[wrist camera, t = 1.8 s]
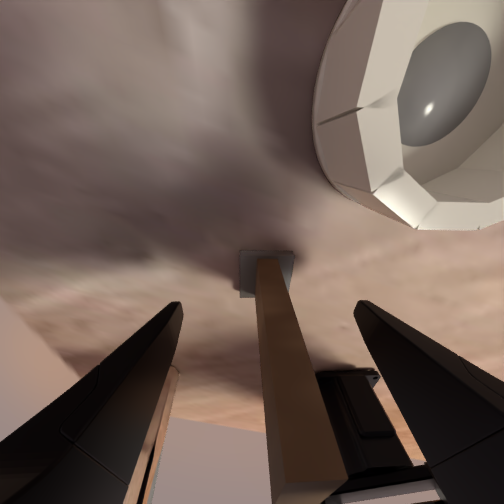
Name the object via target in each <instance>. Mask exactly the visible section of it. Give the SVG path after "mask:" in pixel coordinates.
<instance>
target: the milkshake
mask: <svg viewBox="0 0 504 504" xmlns="http://www.w3.org/2000/svg"><path fill="white" fill-rule="evenodd" d="M178 378H179V372H178V371H177V370H176V368H175V367H173V366H170V368H169V371H168V374H167V377H166V380H165V383H164V386H163V389H162V391H161V394H160V397H159V400H158V403H157V406H156V409H155V412H154V415H153V418H152V420H151V423H150V426H149V429H148V432H147V435H146V438H145V441H144V444H143V447H142V450H141V452H140V455H139V458H138V461H137V464H136V467H135V470H134V473H133V476H132V479H131V482H130V484H129V485H128V486H129V488H128V491H127V494H126V496H125V499H124V502H123V504H152V498H153V494H154V489H155V484H156V479H157V474H158V469H159V464H160V459H161V454H162V449H163V445H164V440H165V436H166V431H167V426H168V422H169V418H170V413H171V409H172V404H173V400H174V396H175V391H176V387H177V382H178Z"/></svg>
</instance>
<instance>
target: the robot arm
mask: <svg viewBox="0 0 504 504" xmlns="http://www.w3.org/2000/svg"><path fill="white" fill-rule="evenodd" d="M353 314H354V318H355V320H356V322H357V325H358V327H359V330H360V332H361V335H362V337H363V340H364V342H365V344H366V346H367V348H368V350H369V352H370V354H371V356H372V358H373V360H374V362H375V364H376V366H377V367H378V369H379V371H380V373H381V375H382V377H383V379H384V381H385V383H386V385H387V387H388V388H389V390H390V392H391V394H392V396H393V398H394V400H395V402H396V404H397V406H398V408H399V410H400V411H401V413H402V415H403V417H404V419H405V421H406V423H407V425H408V427H409V429H410V431H411V432H412V434H413V436H414V438H415V440H416V442H417V444H418V446H419V448H420V450H421V452H422V453H423V455H424V457H425V459H426V461H427V462H424V465H419V466H414V465H413V463H412V461H411V460H410V458H409V456H408V454H407V452H406V450H405V449H404V447H403V445H402V443H401V441H400V439H399V438H398V436H397V434H396V430H395V428H394V426H393V424H392V423H391V421H390V419H389V417H388V415H387V413H386V412H385V410H384V408H383V406H382V404H381V403H380V401H379V399H378V397H377V395H376V393H375V392H374V390H373V387H374V386H375V384H376V383H377V382H378V380H379V379H380V375H379V373H378V372H377V371H352V372H320V373H316V374H315V377H316V380H317V383H318V386H319V389H320V392H321V395H322V398H323V401H324V405H325V408H326V411H327V414H328V417H329V420H330V423H331V426H332V429H333V432H334V436H335V439H336V442H337V445H338V448H339V451H340V454H341V457H342V460H343V463H344V467H345V470H346V473H347V476H348V480H347V481H346V482H345V483H344V484H342V485H341V486H340V487H339V488H338V489H336V490H335V491H334V492H333V493H332V494H331V495H329V496H328V497H327V498H326V499H325V500H324V501H322V502H321V503H320V504H345V503H351V502H357V501H364V500H370V499H376V498H382V497H389V496H396V495H402V494H409V493H415V492H421V491H428V490H434V489H435V490H436V492H437V494H438V496H439V497H440V499H441V500H434V501H427V502H421V503H413V504H504V382H503V381H501V380H499V379H498V378H496V377H494V376H492V375H491V374H489V373H487V372H485V371H484V370H482V369H480V368H479V367H477V366H475V365H474V364H472V363H470V362H469V361H467V360H465V359H464V358H462V357H460V356H458V355H457V354H455V353H454V352H452V351H451V350H449V349H447V348H446V347H444V346H442V345H441V344H439V343H437V342H436V341H434V340H432V339H431V338H429V337H427V336H426V335H424V334H422V333H421V332H419V331H418V330H416V329H414V328H413V327H411V326H409V325H408V324H406V323H404V322H403V321H401V320H399V319H398V318H396V317H394V316H393V315H391V314H389V313H388V312H386V311H384V310H383V309H381V308H380V307H378V306H376V305H375V304H373V303H371V302H370V301H368V300H359V301H358V302H357V305H356V307H355V309H354V312H353ZM182 321H183V309H182V305H181V302H179V301H175V302H171V303H169V304H168V305H167V306H166V307H165V308H163V309H162V310H161V311H160V312H159V313H158V314H156V315H155V316H154V317H153V318H152V319H151V320H149V321H148V322H147V323H146V324H145V325H144V326H142V327H141V328H140V329H139V330H138V331H137V332H135V333H134V334H133V335H132V336H131V337H130V338H129V339H127V340H126V341H125V342H124V343H123V344H122V345H120V346H119V347H118V348H117V349H116V350H115V351H113V352H112V353H111V354H110V355H109V356H108V357H106V358H105V359H104V360H103V361H102V362H101V363H100V365H97V366H96V367H95V368H93V369H92V370H91V371H90V372H89V373H88V374H86V375H85V376H84V377H83V378H82V379H80V380H79V381H78V382H77V383H76V384H74V385H73V386H72V387H71V388H70V389H68V390H67V391H66V392H64V393H63V394H62V395H61V396H60V397H58V398H57V399H56V400H54V401H53V402H52V403H50V404H49V405H48V406H47V407H45V408H44V409H43V410H41V411H40V412H39V413H38V414H36V415H35V416H33V417H32V418H31V419H30V420H29V421H27V422H26V423H24V424H23V425H22V426H20V427H19V428H18V429H17V430H15V431H14V432H13V433H11V434H10V435H9V436H7V437H6V438H5V439H4V440H2V441H1V442H0V504H123V502H124V499H125V496H126V494H127V491H128V488H129V486H128V485H129V484H130V482H131V479H132V476H133V473H134V470H135V467H136V464H137V461H138V458H139V455H140V452H141V450H142V447H143V444H144V441H145V438H146V435H147V432H148V429H149V426H150V423H151V420H152V418H153V415H154V412H155V409H156V406H157V403H158V400H159V397H160V394H161V391H162V389H163V386H164V383H165V380H166V377H167V374H168V371H169V368H170V365H171V362H172V359H173V357H174V354H175V350H176V347H177V343H178V338H179V334H180V330H181V325H182ZM413 466H414V467H413Z"/></svg>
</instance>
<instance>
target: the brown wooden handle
mask: <svg viewBox="0 0 504 504" xmlns="http://www.w3.org/2000/svg"><path fill="white" fill-rule="evenodd" d="M294 258H295V255H294V253H293V251H240V298H255V302H256V314H257V326H258V338H259V351H260V363H261V375H262V388H263V400H264V412H265V424H266V436H267V449H268V461H269V472H270V473H269V474H270V485H271V498H272V504H320V503H321V502H322V501H324V500H325V499H326V498H327V497H328V496H329V495H331V494H332V493H333V492H334V491H335V490H336V489H338V488H339V487H340V486H341V485H342V484H344V483H345V482H346V481H347V480H348V476H347V473H346V470H345V467H344V463H343V460H342V457H341V454H340V451H339V448H338V445H337V442H336V439H335V436H334V432H333V429H332V426H331V423H330V420H329V417H328V414H327V411H326V408H325V405H324V401H323V398H322V395H321V392H320V389H319V386H318V383H317V380H316V377H315V374H314V370H313V367H312V364H311V361H310V358H309V355H308V352H307V349H306V346H305V343H304V339H303V336H302V333H301V330H300V327H299V324H298V321H297V318H296V315H295V312H294V309H293V305H292V302H291V299H290V296H289V287H290V281H291V276H292V270H293V264H294Z"/></svg>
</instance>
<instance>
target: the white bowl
mask: <svg viewBox="0 0 504 504" xmlns="http://www.w3.org/2000/svg"><path fill="white" fill-rule="evenodd" d="M312 133H313V142H314V147H315V151H316V155H317V158H318V161H319V163H320V166H321V168H322V170H323V172H324V174H325V176H326V177H327V179H328V180H329V181H330V183H331V184H332V185H333V187H334V188H336V189H337V190H338V191H339V192H340V193H341V194H342V195H344V196H345V197H347V198H349V199H350V200H352V201H355V202H357V203H359V204H362V205H363V206H364V207H366V208H368V209H371V210H373V211H375V212H377V213H380V214H382V215H384V216H387V217H389V218H391V219H393V220H396V221H398V222H400V223H402V224H405V225H407V226H409V227H412V228H414V229H417V230H477V229H478V230H480V229H483V228H485V227H488V226H490V225H493V224H495V223H498V222H500V221H503V220H504V0H347V2H346V3H345V5H344V7H343V9H342V11H341V13H340V15H339V17H338V19H337V21H336V23H335V25H334V27H333V29H332V31H331V34H330V36H329V39H328V41H327V44H326V46H325V49H324V52H323V55H322V59H321V62H320V65H319V69H318V73H317V78H316V83H315V88H314V94H313V103H312Z"/></svg>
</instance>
